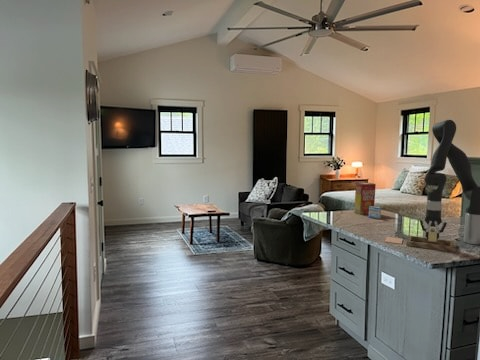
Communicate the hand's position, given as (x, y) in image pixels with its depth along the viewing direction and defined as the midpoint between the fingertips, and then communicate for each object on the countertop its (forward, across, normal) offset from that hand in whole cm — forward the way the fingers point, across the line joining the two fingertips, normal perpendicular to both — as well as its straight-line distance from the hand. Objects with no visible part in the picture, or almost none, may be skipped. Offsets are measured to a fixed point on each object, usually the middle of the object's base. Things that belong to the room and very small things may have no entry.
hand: (432, 238), depth 202 cm
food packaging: (+4, +47, -81) cm, 94 cm away
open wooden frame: (+4, +1, 0) cm, 4 cm away
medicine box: (+4, +37, -66) cm, 76 cm away
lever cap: (+1, 0, 0) cm, 1 cm away
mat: (+4, +20, -1) cm, 20 cm away
